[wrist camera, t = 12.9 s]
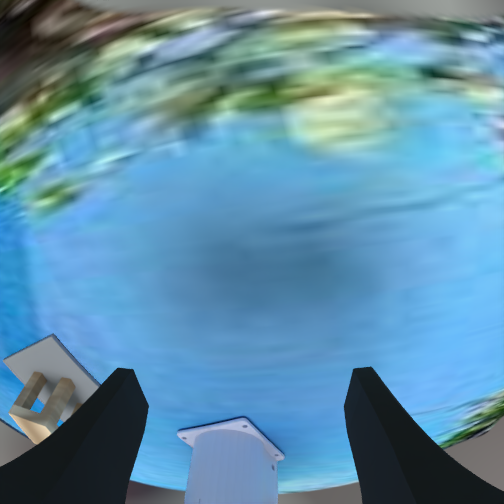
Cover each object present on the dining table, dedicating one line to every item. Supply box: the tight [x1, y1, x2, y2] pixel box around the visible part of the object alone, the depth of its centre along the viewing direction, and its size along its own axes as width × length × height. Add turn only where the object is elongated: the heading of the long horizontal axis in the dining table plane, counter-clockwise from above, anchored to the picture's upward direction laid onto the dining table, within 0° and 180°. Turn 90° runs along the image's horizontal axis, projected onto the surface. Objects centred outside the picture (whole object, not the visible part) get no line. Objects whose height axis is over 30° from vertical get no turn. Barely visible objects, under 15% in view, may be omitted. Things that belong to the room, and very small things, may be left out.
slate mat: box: [3, 334, 101, 422], centre depth 26 cm, size 12×12×1 cm
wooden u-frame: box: [8, 371, 82, 444], centre depth 23 cm, size 5×5×6 cm
